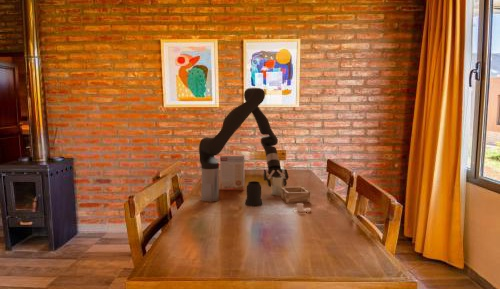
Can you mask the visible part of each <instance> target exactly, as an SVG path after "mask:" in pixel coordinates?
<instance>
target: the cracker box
mask: <svg viewBox="0 0 500 289" xmlns="http://www.w3.org/2000/svg"><path fill="white" fill-rule="evenodd" d="M219 160H220V161H219V162H220V163H219V184H220V191H242V192H243V191H244V190H245V186H246V185H245V182H246V181H245V178H246V177H245V155H244V154H221V155H220V159H219Z"/></svg>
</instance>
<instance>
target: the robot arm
mask: <svg viewBox="0 0 500 289" xmlns="http://www.w3.org/2000/svg"><path fill="white" fill-rule="evenodd" d="M243 96H244V102H243V103H242V104H239V105H238V106H236V107H235V108H233V109H232V110H230V111H229V112H228V114H227V115H226V116H225V118H224V119H223V121H222V125H221V129H220V130H219V132H217V134H216V135H215V136H214V137H207V136H206V137H203V138H202V139H201V140H200V142H199V146H198V152H199V153H198V154H199V155H198V156H199V162H200V166H201V183H200V189H201V190H200V194H201V197H200V198H201V199H200V201H202V202H208V203H209V202H210V203H213V202H216V201H217V202H218V201H219V200H220V163H219V161H217V159H216V157H215V156H217V155H219V154H220V153H221V152H222V151H223V150H224V148H225V146H226V145H227V143H228V141H230V139H231V138H232V136H233V135H234V134H235V132H237V130H238V129H239V128H240V127H241V126H242V125H243V123H244V122H245V121H246V120H247V118H248V117H249V116H250V115H251V114H252V115H253V117H254V119H255V122H256V124H257V127H258V130H259V133H260V134H261V135H263V136H262V137H261V139H260V144H261V146H262V147H263V150H264V152H265V157H266V165H267V169H268V170H266V169H264V170H263V171H262V174H263V176H262V177H263V181H266V182H267V185H268V187H270V188H271V187H272V182H271V181H272V180H271V179H272V177H273V176H281V177H282V185H283V187H287V181H288V180H289V177H290V176H289V174H288V170H287V169H286V168H285V169H284V170H282V169H281V168H282V166H281V163H280V159H279V158H280V157H279V154H278V150H277V147H275V146H277V144H278V142H279V140H278V136H276V134H275V133H274V131H273V130H272V128H271V124H270V121H269V119H268V117H267V116H266V115H265V113H264V112H263V111H262V110H261V109H260V105H261V104H262V103H263V102H264V100H265V96H266V92H265V90H264V89H262V88H261V87H248V88H246V89H245V90H244V93H243ZM267 175H268V177H267Z"/></svg>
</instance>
